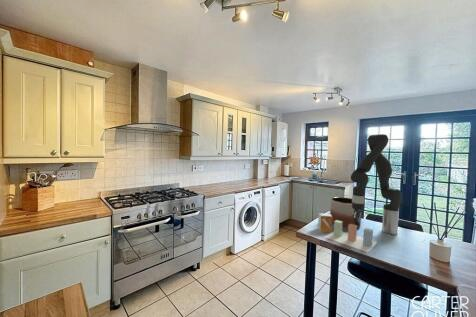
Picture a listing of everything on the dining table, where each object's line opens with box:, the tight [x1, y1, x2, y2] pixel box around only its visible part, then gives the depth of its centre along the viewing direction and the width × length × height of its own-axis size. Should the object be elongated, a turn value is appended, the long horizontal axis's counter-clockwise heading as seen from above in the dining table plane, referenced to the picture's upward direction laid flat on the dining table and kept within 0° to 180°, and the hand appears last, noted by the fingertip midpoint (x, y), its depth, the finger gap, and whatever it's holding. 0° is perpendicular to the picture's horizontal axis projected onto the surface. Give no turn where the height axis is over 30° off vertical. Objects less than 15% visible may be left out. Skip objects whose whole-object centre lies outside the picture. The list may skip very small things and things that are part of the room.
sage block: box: [333, 220, 343, 237], centre depth 140 cm, size 4×4×10 cm
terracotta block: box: [347, 224, 358, 242], centre depth 133 cm, size 4×4×10 cm
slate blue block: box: [362, 227, 374, 247], centre depth 127 cm, size 4×4×10 cm
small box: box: [317, 212, 333, 233], centre depth 148 cm, size 8×6×13 cm
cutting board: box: [324, 230, 378, 253], centre depth 134 cm, size 20×26×1 cm
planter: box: [329, 196, 362, 229], centre depth 164 cm, size 22×22×20 cm
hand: (356, 226), depth 139 cm, fingers closed
